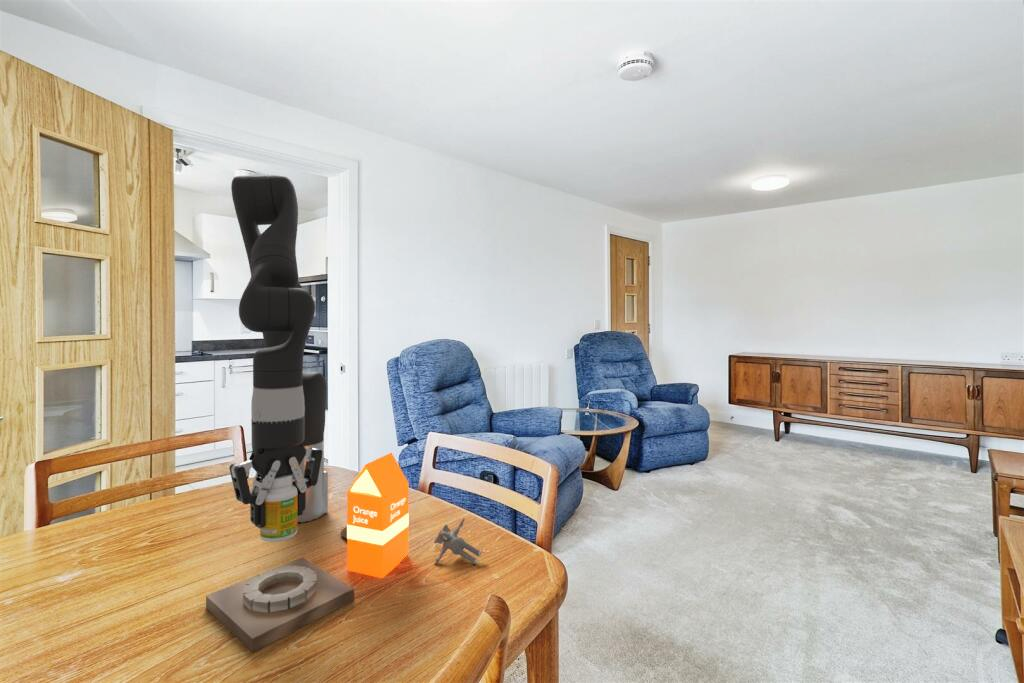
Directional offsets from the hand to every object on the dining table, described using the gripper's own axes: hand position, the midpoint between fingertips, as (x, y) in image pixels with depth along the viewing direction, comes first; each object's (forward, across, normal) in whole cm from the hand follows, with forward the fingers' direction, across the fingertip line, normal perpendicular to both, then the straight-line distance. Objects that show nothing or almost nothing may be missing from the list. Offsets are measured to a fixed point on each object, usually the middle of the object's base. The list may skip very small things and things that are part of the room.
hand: (278, 519), depth 78 cm
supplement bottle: (+3, 0, 0) cm, 3 cm away
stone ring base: (+14, 0, 0) cm, 14 cm away
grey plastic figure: (+14, -30, +11) cm, 34 cm away
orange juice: (+14, -18, +1) cm, 23 cm away
